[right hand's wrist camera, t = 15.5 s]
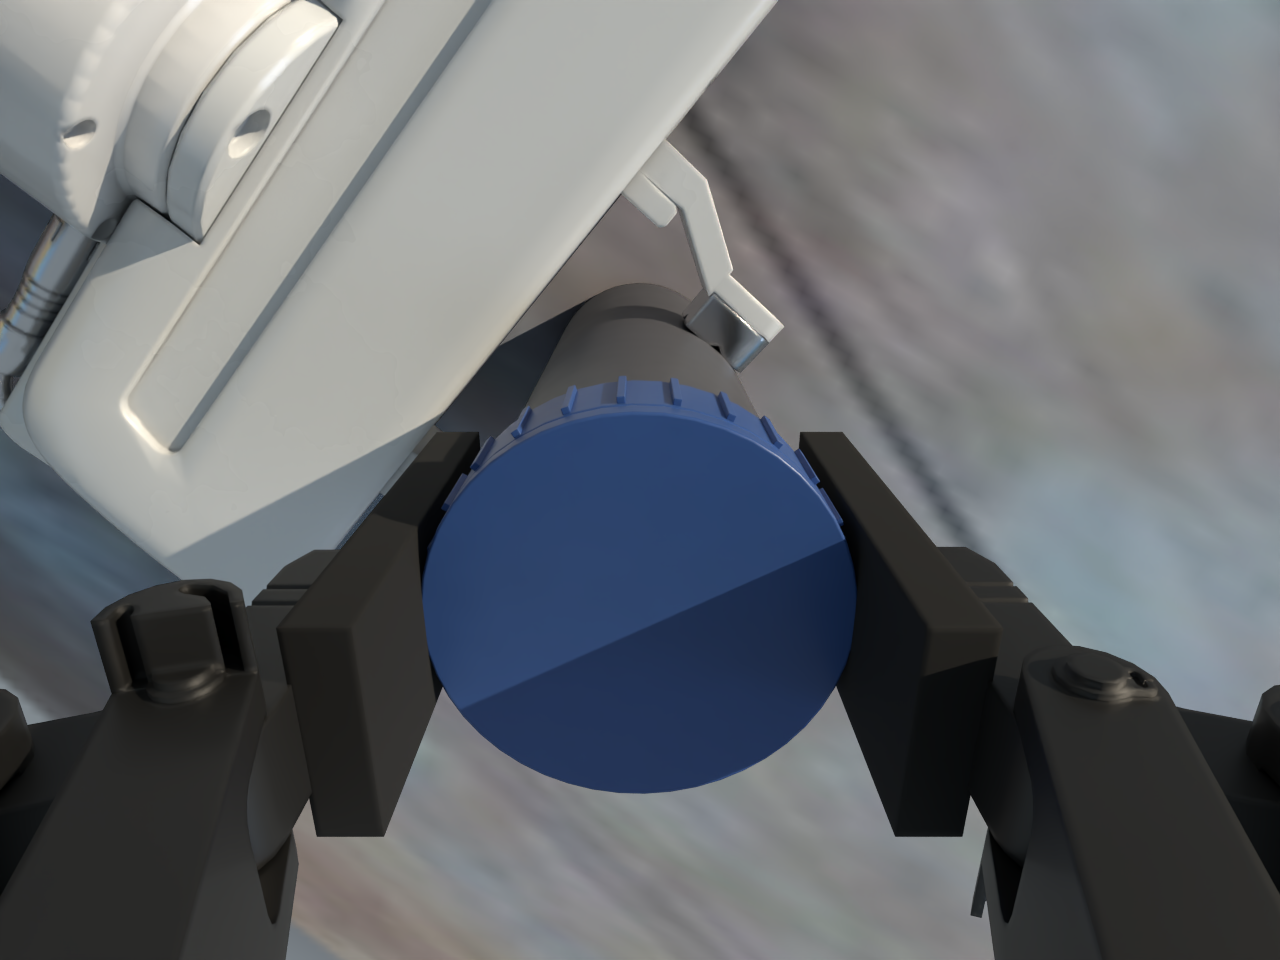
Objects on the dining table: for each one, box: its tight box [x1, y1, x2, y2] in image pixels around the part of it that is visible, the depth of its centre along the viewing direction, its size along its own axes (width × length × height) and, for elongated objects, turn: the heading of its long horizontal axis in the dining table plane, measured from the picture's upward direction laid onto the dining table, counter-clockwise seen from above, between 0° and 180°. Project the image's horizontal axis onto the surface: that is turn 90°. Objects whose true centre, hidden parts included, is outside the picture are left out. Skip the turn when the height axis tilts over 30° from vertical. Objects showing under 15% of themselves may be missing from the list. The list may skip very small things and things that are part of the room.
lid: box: [421, 376, 857, 794], centre depth 11 cm, size 6×6×2 cm
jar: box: [525, 283, 759, 418], centre depth 18 cm, size 5×5×15 cm
